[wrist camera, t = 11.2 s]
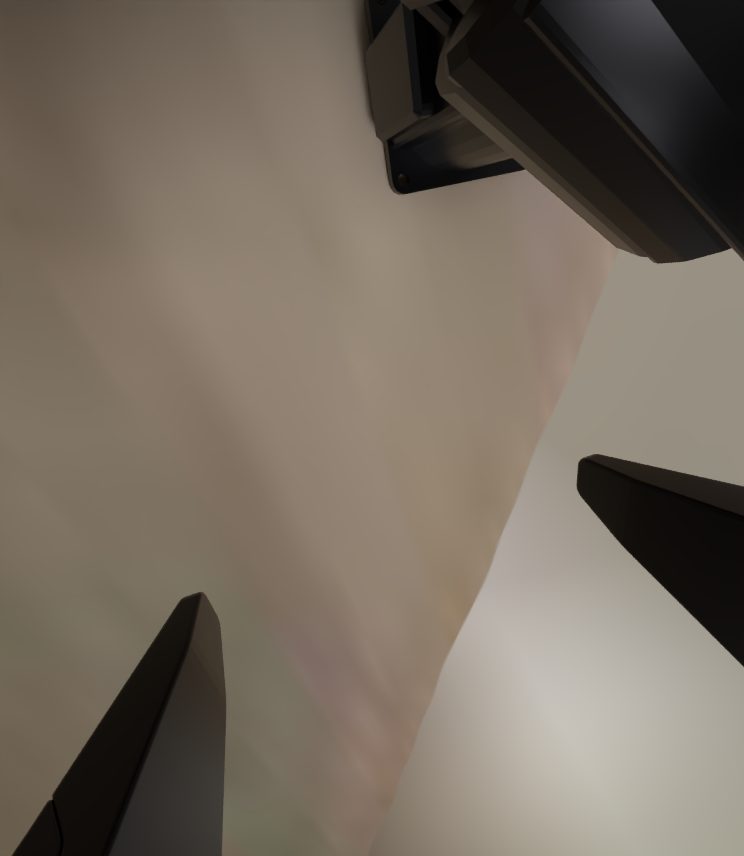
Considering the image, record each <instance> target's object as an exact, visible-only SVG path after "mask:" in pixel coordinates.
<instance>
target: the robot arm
mask: <svg viewBox="0 0 744 856" xmlns="http://www.w3.org/2000/svg"><path fill="white" fill-rule="evenodd" d="M365 9H366V16H367V23H368V31H369V38H370V47H369V48H368V50H367V52H366V54H365V61H366V68H367V75H368V82H369V89H370V96H371V103H372V110H373V117H374V124H375V131H376V136H377V137H378V138H379V139H380V140H381V141H382V142H384V147H385V155H386V162H387V169H388V176H389V184H390V187H391V189H392V190H393V192H394V193H396V194H398V195H404V194H408V193H413V192H418V191H423V190H428V189H433V188H438V187H443V186H448V185H453V184H457V183H462V182H467V181H472V180H477V179H482V178H487V177H492V176H497V175H502V174H506V173H511V172H516V171H521V170H524V169H526V170H527V171H528V172H529V173H531V174H532V175H533V176H534V177H535V178H536V179H538V180H539V181H540V182H541V183H542V184H543V185H545V186H546V187H547V188H548V189H549V190H550V191H551V192H553V193H554V194H555V195H556V196H557V197H558V198H560V199H561V200H562V201H563V202H564V203H565V204H567V205H568V206H569V207H570V208H571V209H572V210H573V211H575V212H576V213H577V214H578V215H579V216H580V217H582V218H583V219H584V220H585V221H586V222H587V223H588V224H590V225H591V226H592V227H593V228H594V229H595V230H597V231H598V232H599V233H600V234H601V235H602V236H604V237H605V238H606V239H607V240H608V241H609V242H610V243H612V244H613V245H614V246H615V247H616V248H619V249H622V250H625V251H627V252H630V253H632V254H635V255H638V256H641V257H648V258H649V259H650V260H651V261H652V262H654V263H672V262H684V261H689V260H693V259H696V258H700V257H704V256H707V255H711V254H715V253H718V252H722V251H725V250H728V249H730V248H732V249H733V250H734V251H735V252H736V253H737V254H738V255H739V256H740V257H741V258H742V260H743V261H744V0H385V4H384V5H380V4H378V3H377V1H376V0H365ZM400 174H403V175H404V176H405V177H406V185H405V186H404V187H401V186H400V185H399V182H398V177H399V176H400ZM577 490H578V492H579V494H580V496H581V497H582V498H583V500H584V501H585V502H586V503H587V504H588V505H589V507H590V508H591V509H592V510H593V512H594V513H595V514H596V515H597V516H598V518H599V519H600V520H601V521H602V522H603V524H604V525H605V526H606V527H607V528H608V529H609V531H610V532H611V533H612V534H613V535H614V537H615V538H616V539H617V540H618V541H619V542H620V544H621V545H622V546H623V547H624V548H625V549H626V550H627V551H628V552H629V553H630V554H631V555H632V556H633V557H634V558H635V559H636V560H637V561H638V562H639V563H640V564H641V565H642V566H643V567H644V568H645V569H646V570H647V571H648V572H649V573H650V574H651V575H652V576H653V577H654V578H655V579H656V580H657V581H658V582H659V583H660V584H661V585H662V586H663V587H664V588H665V589H666V590H667V591H668V592H669V593H670V594H671V595H672V596H673V597H674V598H675V599H676V600H677V601H678V602H679V603H680V604H681V605H682V606H683V607H684V608H685V609H686V610H687V611H688V612H689V613H690V614H691V615H692V616H693V617H694V618H695V619H696V620H697V621H698V622H699V623H700V624H701V625H702V626H703V627H704V628H705V629H706V630H707V631H708V632H710V634H711V635H712V636H713V637H714V638H715V639H716V640H717V641H718V642H719V643H720V644H721V645H722V646H723V647H724V648H725V649H726V650H727V651H729V653H731V655H732V656H733V657H734V658H735V659H736V660H737V661H738V662H739V663H740V664H741V665H743V667H744V486H739V485H735V484H730V483H726V482H721V481H717V480H712V479H708V478H703V477H699V476H694V475H690V474H685V473H680V472H676V471H672V470H667V469H662V468H658V467H653V466H649V465H644V464H640V463H636V462H631V461H627V460H622V459H618V458H613V457H608V456H604V455H599V454H593V455H590V456H587V457H585V458H582V459H581V460H580V461H579V463H578V474H577ZM225 735H226V691H225V678H224V665H223V653H222V641H221V628H220V622H219V619H218V616H217V614H216V613H215V611H214V609H213V607H212V605H211V604H210V602H209V600H208V598H207V596H206V595H205V594H204V593H203V592H198V593H195V594H192V595H189V596H186V597H184V598H182V599H181V600H180V601H179V603H178V604H177V606H176V607H175V609H174V610H173V612H172V613H171V615H170V616H169V618H168V620H167V621H166V623H165V624H164V626H163V627H162V629H161V630H160V632H159V633H158V635H157V636H156V638H155V639H154V641H153V642H152V644H151V645H150V647H149V648H148V650H147V651H146V653H145V655H144V656H143V658H142V659H141V661H140V662H139V664H138V665H137V667H136V668H135V670H134V671H133V673H132V674H131V676H130V677H129V679H128V680H127V682H126V683H125V685H124V686H123V688H122V690H121V691H120V693H119V694H118V696H117V697H116V699H115V700H114V702H113V703H112V705H111V706H110V708H109V709H108V711H107V712H106V714H105V715H104V717H103V718H102V720H101V721H100V723H99V725H98V726H97V728H96V729H95V731H94V732H93V734H92V735H91V737H90V738H89V740H88V741H87V743H86V744H85V746H84V747H83V749H82V750H81V752H80V753H79V755H78V756H77V758H76V760H75V761H74V763H73V764H72V766H71V767H70V769H69V770H68V772H67V773H66V775H65V776H64V778H63V779H62V781H61V782H60V784H59V785H58V787H57V788H56V790H55V791H54V793H53V795H52V798H53V800H49V801H48V802H47V803H46V805H45V806H44V808H43V809H42V811H41V812H40V814H39V816H38V817H37V819H36V820H35V822H34V823H33V825H32V826H31V828H30V829H29V831H28V832H27V834H26V835H25V837H24V838H23V840H22V841H21V843H20V844H19V845H18V847H17V848H16V850H15V851H14V853H13V854H12V856H222V830H223V798H224V767H225Z"/></svg>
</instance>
